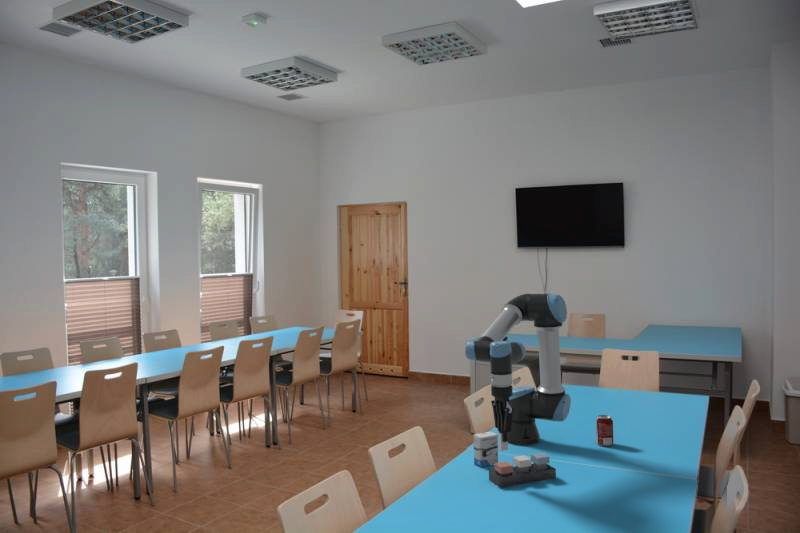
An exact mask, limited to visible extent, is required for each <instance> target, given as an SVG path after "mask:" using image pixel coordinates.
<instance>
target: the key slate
mask: <svg viewBox="0 0 800 533" xmlns="http://www.w3.org/2000/svg"><path fill="white" fill-rule="evenodd" d="M530 459H531V463H533V464H534V468H535V469H537V470H542V469H547V464H550V456H549V455H547V454H545V453H544V452H539V453H531V454H530Z"/></svg>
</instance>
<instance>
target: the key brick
mask: <svg viewBox="0 0 800 533" xmlns="http://www.w3.org/2000/svg"><path fill="white" fill-rule="evenodd" d="M513 465H514V464H511V463H509V462H508V461H498V463H495V465H494V470H496V471H497V474H499V475H500V476H504V475H510V473H512V472H513V467H514V466H513Z"/></svg>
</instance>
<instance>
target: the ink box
mask: <svg viewBox="0 0 800 533" xmlns="http://www.w3.org/2000/svg"><path fill="white" fill-rule="evenodd" d="M473 460H474V461H473V463H474V465H475V466H477V467H480V468H484V467H485V466H486V467H489V466H495V465H494V464H495V463H499V434H497V433H494V432H493V431H486V432H480V433H475V434H473Z"/></svg>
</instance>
